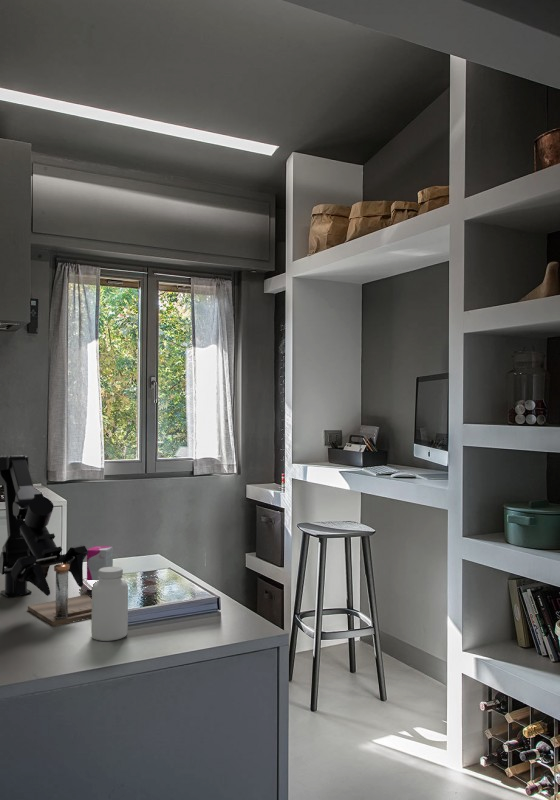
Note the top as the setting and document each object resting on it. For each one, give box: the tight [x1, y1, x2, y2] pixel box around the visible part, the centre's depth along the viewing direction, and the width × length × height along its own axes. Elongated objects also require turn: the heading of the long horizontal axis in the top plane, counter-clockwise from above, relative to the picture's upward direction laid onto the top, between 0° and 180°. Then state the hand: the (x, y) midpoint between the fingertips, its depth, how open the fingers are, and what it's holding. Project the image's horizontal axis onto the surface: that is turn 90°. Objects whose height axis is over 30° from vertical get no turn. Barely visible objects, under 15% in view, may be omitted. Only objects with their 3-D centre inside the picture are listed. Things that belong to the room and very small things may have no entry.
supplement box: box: [86, 546, 114, 581], centre depth 188 cm, size 6×6×12 cm
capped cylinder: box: [53, 563, 70, 620], centre depth 159 cm, size 4×4×13 cm
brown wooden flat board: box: [27, 594, 92, 627], centre depth 166 cm, size 16×16×1 cm
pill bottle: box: [90, 566, 129, 642], centre depth 149 cm, size 8×8×15 cm
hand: (65, 590), depth 158 cm, fingers open, 9 cm apart
